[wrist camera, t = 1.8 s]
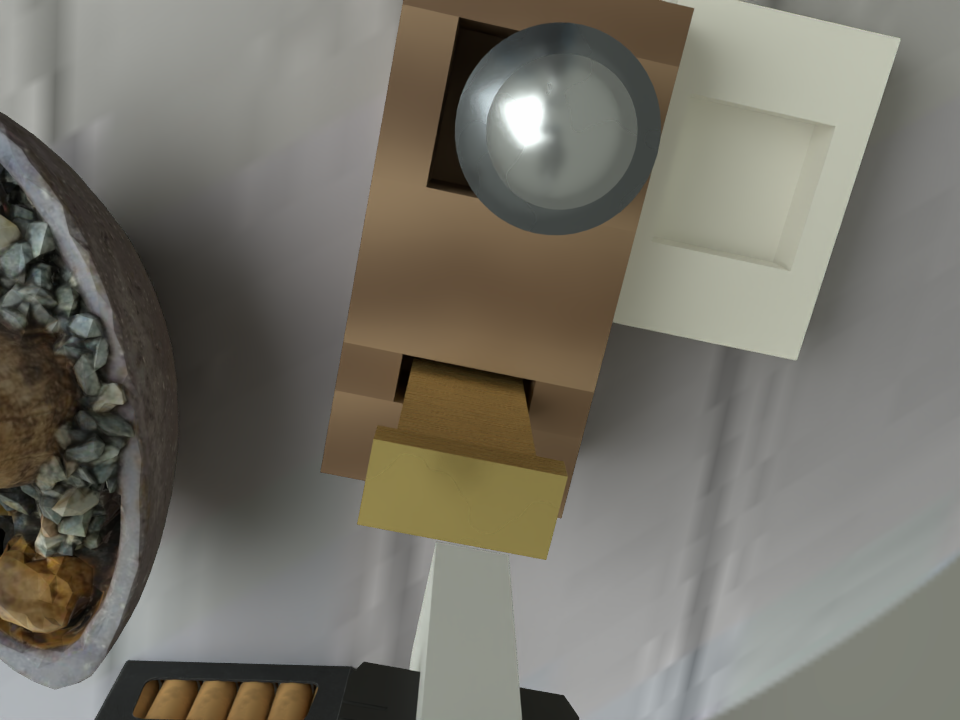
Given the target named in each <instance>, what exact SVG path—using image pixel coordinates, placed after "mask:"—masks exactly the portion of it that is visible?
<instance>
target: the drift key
mask: <svg viewBox="0 0 960 720" xmlns="http://www.w3.org/2000/svg"><path fill="white" fill-rule="evenodd" d="M567 478H568V476H567V472H566V468H565V464H564V461H559V460H554V459H549V458H544V457H539V456H536V452H535V447H534V441H533V436H532V430H531V425H530V419H529V414H528V408H527V403H526V397H525V392H524V386H523V381H522V378H518V377H513V376H508V375H503V374H499V373H494V372H489V371H484V370H479V369H474V368H469V367H464V366H459V365H454V364H449V363H444V362H439V361H434V360H429V359H424V358H419V357H414V359H413V363H412V368H411V372H410V376H409V381H408V385H407V389H406V393H405V398H404V402H403V406H402V410H401V415H400V419H399V423H398V428H397V429H395V428H390V427H385V426H380V425H377V429H376V432H375V435H374V439H373V444H372V449H371V454H370V460H369V465H368V470H367V475H366V481H365V486H364V491H363V496H362V501H361V507H360V512H359V517H358V522H357V524H358V525H363V526H368V527H374V528H379V529H384V530H390V531H395V532H400V533H406V534H411V535H416V536H422V537H427V538H432V539H438V540H443V541H448V542H454V543H459V544H464V545H469V546H475V547H480V548H485V549H491V550H496V551H501V552H507V553H512V554H517V555H523V556H528V557H533V558H539V559H544V560H546V559H547V555H548V551H549V547H550V543H551V540H552V536H553V532H554V528H555V524H556V520H557V516H558V513H559V509H560V505H561V501H562V497H563V493H564V489H565V486H566V482H567Z"/></svg>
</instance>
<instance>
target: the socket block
mask: <svg viewBox="0 0 960 720" xmlns="http://www.w3.org/2000/svg"><path fill="white" fill-rule="evenodd" d="M693 12H694V8H691V7H687V6H683V5H678V4H674V3H670V2H665V1H661V0H403V5H402V11H401V16H400V22H399V28H398V33H397V39H396V45H395V50H394V56H393V62H392V68H391V73H390V79H389V85H388V90H387V96H386V102H385V107H384V113H383V119H382V124H381V130H380V136H379V142H378V147H377V153H376V159H375V164H374V170H373V176H372V181H371V187H370V193H369V198H368V204H367V210H366V215H365V221H364V227H363V233H362V238H361V244H360V250H359V255H358V261H357V267H356V272H355V278H354V284H353V289H352V295H351V301H350V307H349V312H348V318H347V324H346V329H345V335H344V341H343V346H342V352H341V358H340V363H339V369H338V375H337V381H336V386H335V392H334V398H333V403H332V409H331V415H330V420H329V426H328V432H327V437H326V443H325V449H324V455H323V460H322V466H321V472H322V473H327V474H332V475H337V476H343V477H348V478H353V479H358V480H364V481H366V475H367V470H368V465H369V460H370V454H371V449H372V444H373V439H374V435H375V432H376V429H377V425H380V426H385V427H390V428H395V429H397V428H398V423H399V419H400V415H401V410H402V406H403V402H404V398H405V393H406V389H407V385H408V381H409V376H410V372H411V368H412V363H413V359H414V357H419V358H424V359H429V360H434V361H439V362H444V363H449V364H454V365H459V366H464V367H469V368H474V369H479V370H484V371H489V372H494V373H499V374H503V375H508V376H513V377H518V378H522V381H523V386H524V392H525V397H526V403H527V408H528V414H529V419H530V425H531V430H532V436H533V441H534V447H535V452H536V456H539V457H544V458H549V459H554V460H559V461H564V464H565V468H566V472H567V476H568V478H567V482H566V486H565V489H564V493H563V497H562V501H561V505H560V509H559V513H558V516H557V518H562V514H563V510H564V506H565V502H566V498H567V495H568V491H569V487H570V483H571V479H572V475H573V472H574V468H575V464H576V460H577V456H578V452H579V449H580V445H581V441H582V437H583V433H584V429H585V426H586V422H587V418H588V414H589V410H590V406H591V403H592V399H593V395H594V391H595V387H596V383H597V380H598V376H599V372H600V368H601V364H602V360H603V357H604V353H605V349H606V345H607V341H608V337H609V334H610V330H611V326H612V322H613V318H614V314H615V311H616V307H617V303H618V299H619V295H620V291H621V288H622V284H623V280H624V276H625V272H626V268H627V265H628V261H629V257H630V253H631V249H632V245H633V242H634V238H635V234H636V230H637V226H638V223H639V219H640V215H641V211H642V207H643V203H644V200H645V196H646V192H647V188H648V184H649V180H650V177H651V173H652V171H651V173H650V175H649V177H648V179H647V181H646V183H645V184H644V186H643V187H642V189H641V190H640V192H639V193H638V194H637V196H636V197H635V198H634V199H633V200H632V202H631V203H630V204H629V205H627V206H626V207H625V208H624V209H623V210H622V211H621V212H620V213H618V214H617V215H616V216H614V217H613V218H611V219H610V220H608V221H606V222H605V223H603V224H601V225H599V226H597V227H594V228H592V229H589V230H587V231H583V232H579V233H575V234H567V235H543V234H536V233H532V232H529V231H525V230H522V229H519V228H517V227H515V226H512V225H510V224H509V223H507V222H505V221H504V220H502V219H500V218H499V217H497V216H496V215H495V214H494V213H492V212H491V211H490V210H489V209H488V208H487V207H486V206H485V205H484V204H483V203H482V202H481V201H480V200H479V199H478V197H477V196H476V195H475V193H474V192H473V191H472V189H471V187H470V186H469V184H468V182H467V180H466V178H465V176H464V174H463V171H462V169H461V166H460V163H459V159H458V155H457V150H456V142H455V121H456V113H457V108H458V104H459V100H460V97H461V94H462V92H463V89H464V87H465V84H466V82H467V80H468V79H469V77H470V75H471V73H472V71H473V70H474V69H475V67H476V66H477V65H478V63H479V62H480V61H481V59H482V58H483V57H484V56H485V55H486V54H487V53H488V52H489V51H490V50H491V49H492V48H493V47H495V46H496V45H497V44H499V43H500V42H501V41H502V40H504V39H506V38H507V37H509V36H511V35H512V34H514V33H516V32H519V31H521V30H523V29H526V28H529V27H532V26H536V25H540V24H546V23H554V22H563V23H575V24H581V25H585V26H588V27H592V28H595V29H597V30H600V31H602V32H604V33H606V34H608V35H610V36H611V37H613V38H614V39H616V40H617V41H619V42H620V43H622V44H623V45H624V46H625V47H626V48H627V49H628V50H630V51H631V52H632V54H633V55H634V56H635V57H636V58H637V59H638V60H639V62H640V63H641V65H642V66H643V68H644V69H645V71H646V72H647V74H648V76H649V78H650V80H651V82H652V84H653V86H654V89H655V92H656V96H657V99H658V103H659V109H660V117H661V134H662V131H663V127H664V123H665V119H666V115H667V111H668V108H669V104H670V100H671V96H672V92H673V88H674V85H675V81H676V77H677V73H678V69H679V65H680V62H681V58H682V54H683V50H684V46H685V42H686V39H687V35H688V31H689V27H690V23H691V19H692V16H693ZM660 138H661V135H660Z"/></svg>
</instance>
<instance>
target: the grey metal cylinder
mask: <svg viewBox="0 0 960 720" xmlns="http://www.w3.org/2000/svg"><path fill="white" fill-rule="evenodd" d="M660 135H661V117H660V109H659V103H658V99H657V96H656V92H655V89H654V86H653V84H652V82H651V80H650V78H649V76H648V74H647V72H646V71H645V69H644V68H643V66H642V65H641V63H640V62H639V60H638V59H637V58H636V57H635V56H634V55H633V54H632V52H631V51H630V50H628V49H627V48H626V47H625V46H624V45H623V44H622V43H620V42H619V41H617V40H616V39H614V38H613V37H611V36H610V35H608V34H606V33H604V32H602V31H600V30H597V29H595V28H592V27H588V26H585V25H581V24H575V23H563V22H554V23H546V24H540V25H536V26H532V27H529V28H526V29H523V30H521V31H519V32H516V33H514V34H512V35H511V36H509V37H507V38H506V39H504V40H502V41H501V42H500V43H499V44H497V45H496V46H495V47H493V48H492V49H491V50H490V51H489V52H488V53H487V54H486V55H485V56H484V57H483V58H482V59H481V61H480V62H479V63H478V65H477V66H476V67H475V69H474V70H473V71H472V73H471V75H470V77H469V79H468V80H467V82H466V84H465V87H464V89H463V92H462V94H461V97H460V100H459V104H458V108H457V113H456V121H455V142H456V150H457V155H458V159H459V163H460V166H461V169H462V171H463V174H464V176H465V178H466V180H467V182H468V184H469V186H470V187H471V189H472V191H473V192H474V193H475V195H476V196H477V197H478V199H479V200H480V201H481V202H482V203H483V204H484V205H485V206H486V207H487V208H488V209H489V210H490V211H491V212H492V213H494V214H495V215H496V216H497V217H499V218H500V219H502V220H504V221H505V222H507V223H509V224H510V225H512V226H515V227H517V228H519V229H522V230H525V231H529V232H532V233H536V234H543V235H567V234H575V233H579V232H583V231H587V230H589V229H592V228H594V227H597V226H599V225H601V224H603V223H605V222H606V221H608V220H610V219H611V218H613V217H614V216H616V215H617V214H618V213H620V212H621V211H622V210H623V209H624V208H625V207H626V206H627V205H629V204H630V203H631V202H632V200H633V199H634V198H635V197H636V196H637V194H638V193H639V192H640V190H641V189H642V187H643V186H644V184H645V183H646V181H647V179H648V177H649V175H650V173H651V171H652V169H653V166H654V163H655V160H656V157H657V154H658V149H659V144H660Z"/></svg>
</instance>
